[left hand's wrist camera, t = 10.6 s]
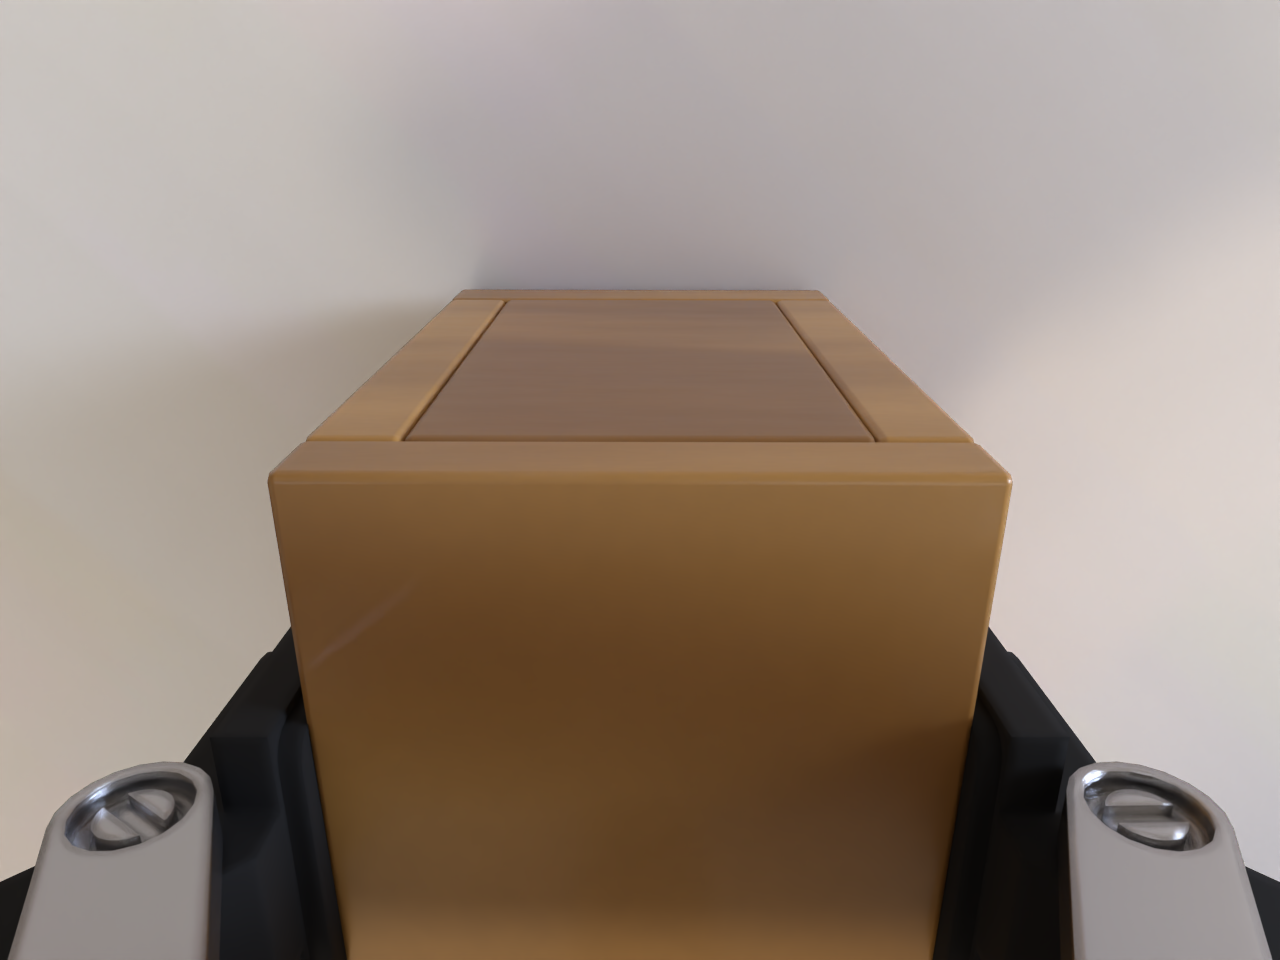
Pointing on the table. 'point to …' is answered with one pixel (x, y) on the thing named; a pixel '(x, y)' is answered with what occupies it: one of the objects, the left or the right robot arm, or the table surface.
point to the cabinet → (639, 632)
